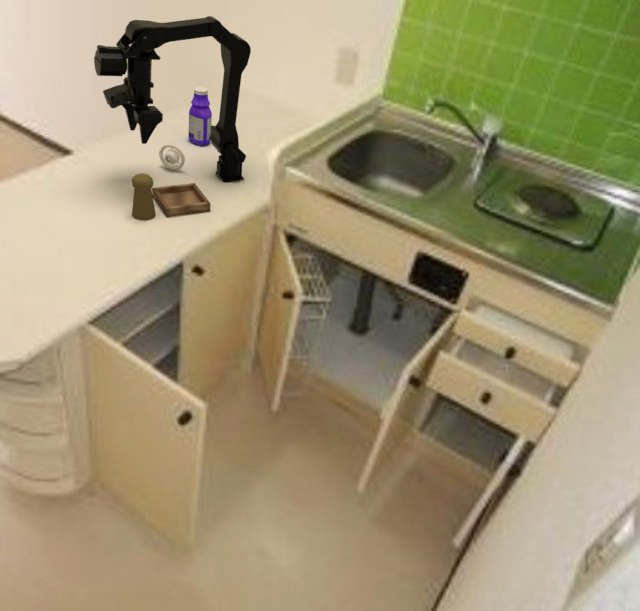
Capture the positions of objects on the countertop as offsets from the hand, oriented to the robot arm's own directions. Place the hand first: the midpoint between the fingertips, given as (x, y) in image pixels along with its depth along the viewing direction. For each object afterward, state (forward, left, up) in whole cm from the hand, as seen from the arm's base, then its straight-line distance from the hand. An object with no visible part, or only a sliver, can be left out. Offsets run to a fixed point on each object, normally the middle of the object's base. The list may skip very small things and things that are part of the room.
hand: (138, 136), depth 168 cm
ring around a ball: (-13, -10, -15) cm, 22 cm away
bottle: (-27, -26, -15) cm, 40 cm away
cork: (+3, +14, -15) cm, 21 cm away
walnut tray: (-8, +11, -15) cm, 20 cm away
